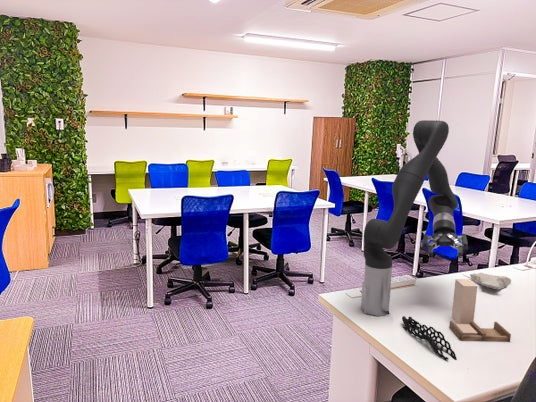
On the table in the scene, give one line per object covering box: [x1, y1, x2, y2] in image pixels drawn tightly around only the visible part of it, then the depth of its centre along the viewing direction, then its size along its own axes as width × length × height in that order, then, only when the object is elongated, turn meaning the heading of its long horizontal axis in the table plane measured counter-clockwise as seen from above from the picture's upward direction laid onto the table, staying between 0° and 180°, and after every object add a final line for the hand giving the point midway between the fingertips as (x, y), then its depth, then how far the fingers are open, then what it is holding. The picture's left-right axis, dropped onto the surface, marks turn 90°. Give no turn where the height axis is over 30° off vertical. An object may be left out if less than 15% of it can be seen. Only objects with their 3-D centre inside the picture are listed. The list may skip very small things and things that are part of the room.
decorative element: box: [401, 315, 458, 362], centre depth 122 cm, size 22×5×6 cm, turn 17°
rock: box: [469, 272, 512, 290], centre depth 169 cm, size 21×5×15 cm
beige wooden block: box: [451, 278, 478, 325], centre depth 133 cm, size 4×6×15 cm
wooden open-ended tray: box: [448, 320, 512, 343], centre depth 126 cm, size 15×8×4 cm, turn 89°
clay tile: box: [455, 323, 478, 335], centre depth 126 cm, size 4×6×2 cm
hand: (445, 255), depth 135 cm, fingers open, 8 cm apart
